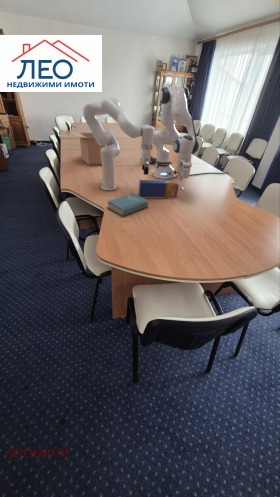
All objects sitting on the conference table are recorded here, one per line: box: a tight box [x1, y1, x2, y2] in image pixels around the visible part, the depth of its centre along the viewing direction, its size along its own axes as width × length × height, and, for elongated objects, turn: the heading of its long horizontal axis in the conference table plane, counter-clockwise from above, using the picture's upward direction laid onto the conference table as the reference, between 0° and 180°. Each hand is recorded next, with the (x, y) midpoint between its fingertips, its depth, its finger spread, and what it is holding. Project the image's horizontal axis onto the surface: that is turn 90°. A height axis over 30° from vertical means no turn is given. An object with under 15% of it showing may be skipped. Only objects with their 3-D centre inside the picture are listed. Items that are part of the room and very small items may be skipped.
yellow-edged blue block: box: [138, 179, 168, 199], centre depth 167 cm, size 20×6×12 cm, turn 97°
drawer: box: [165, 181, 185, 198], centre depth 169 cm, size 23×5×10 cm, turn 97°
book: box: [107, 192, 149, 217], centre depth 151 cm, size 23×16×5 cm
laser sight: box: [139, 155, 157, 165], centre depth 240 cm, size 10×22×10 cm, turn 78°
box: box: [70, 130, 106, 166], centre depth 229 cm, size 44×36×27 cm
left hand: (145, 172), depth 159 cm, fingers open, 9 cm apart
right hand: (180, 180), depth 166 cm, fingers closed
